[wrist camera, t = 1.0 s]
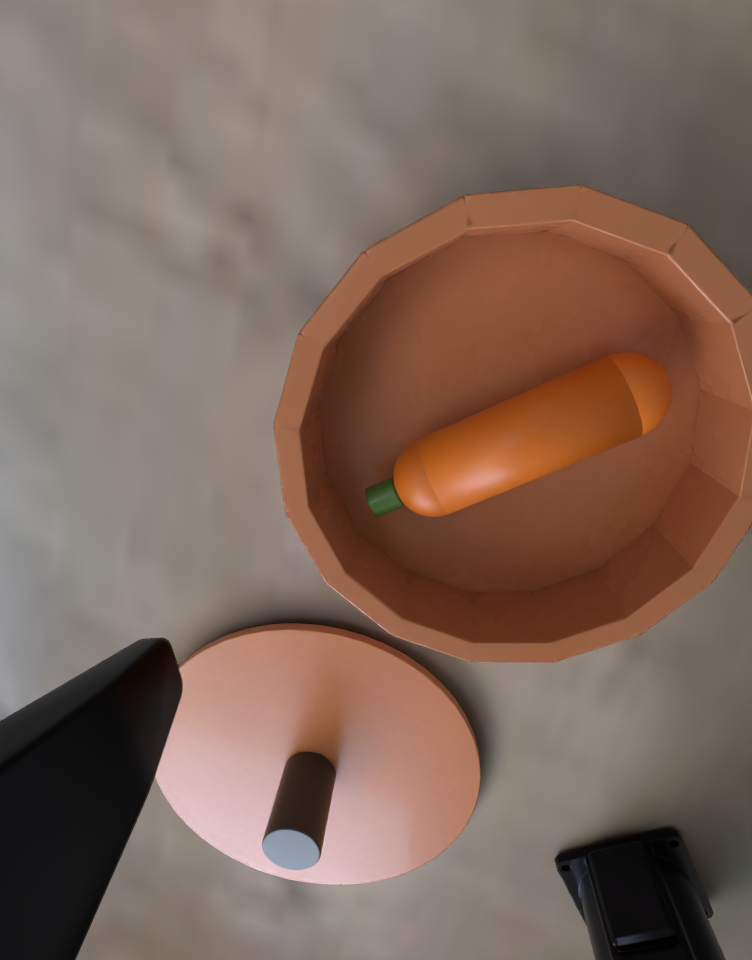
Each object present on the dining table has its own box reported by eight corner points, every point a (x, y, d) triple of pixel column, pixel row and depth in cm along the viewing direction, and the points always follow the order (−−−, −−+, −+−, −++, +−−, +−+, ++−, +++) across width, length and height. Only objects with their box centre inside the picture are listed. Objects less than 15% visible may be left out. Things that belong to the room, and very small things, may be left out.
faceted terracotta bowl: (763, 524, 21) (832, 575, 18) (404, 649, 25) (400, 711, 21) (642, 111, 17) (700, 64, 13) (229, 335, 21) (187, 346, 17)
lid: (529, 824, 28) (549, 934, 23) (259, 890, 32) (230, 997, 27) (389, 564, 24) (379, 636, 19) (94, 679, 27) (25, 763, 23)
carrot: (636, 332, 19) (672, 341, 16) (661, 407, 20) (700, 429, 17) (358, 457, 22) (347, 483, 19) (390, 519, 22) (385, 553, 20)
